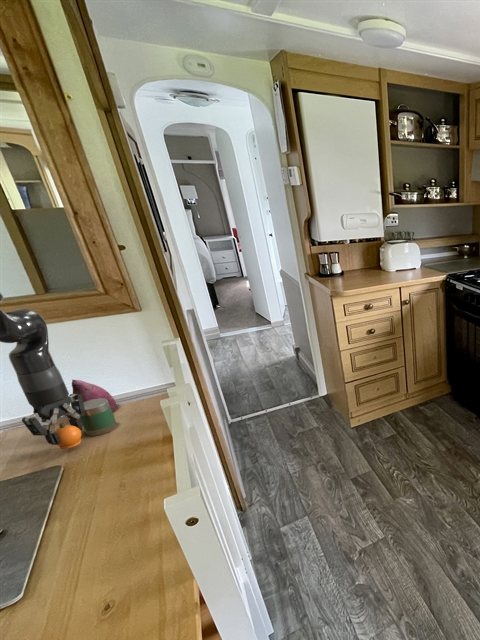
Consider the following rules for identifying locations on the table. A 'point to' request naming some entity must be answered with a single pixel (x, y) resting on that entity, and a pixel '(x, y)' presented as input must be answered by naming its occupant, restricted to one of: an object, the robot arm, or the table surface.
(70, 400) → the robot arm
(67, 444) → the pumpkin
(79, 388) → the vegetable
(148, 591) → the table surface
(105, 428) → the tin
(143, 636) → the table surface
